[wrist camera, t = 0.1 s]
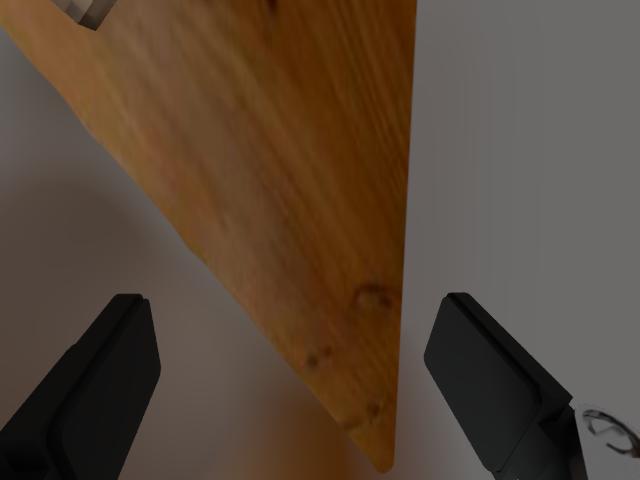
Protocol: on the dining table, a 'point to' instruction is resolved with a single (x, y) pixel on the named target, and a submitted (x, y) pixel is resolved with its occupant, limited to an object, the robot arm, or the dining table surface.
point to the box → (86, 11)
